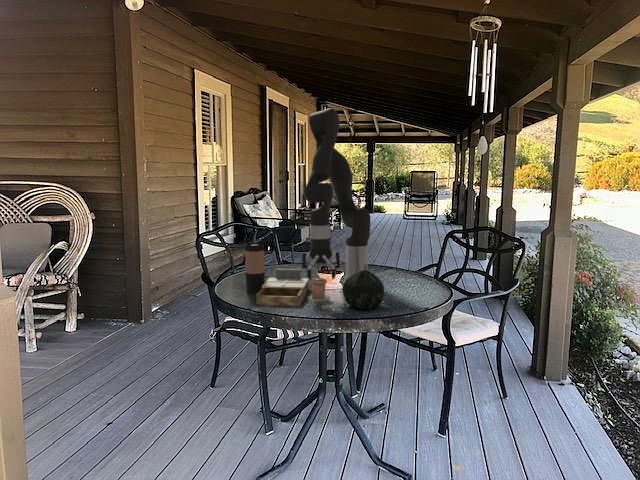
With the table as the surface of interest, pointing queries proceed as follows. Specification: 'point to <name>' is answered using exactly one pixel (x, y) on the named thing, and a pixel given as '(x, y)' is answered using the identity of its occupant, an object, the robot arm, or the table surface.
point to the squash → (363, 290)
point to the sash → (286, 279)
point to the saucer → (318, 299)
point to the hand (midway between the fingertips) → (321, 278)
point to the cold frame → (281, 296)
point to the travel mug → (254, 267)
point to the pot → (318, 288)
